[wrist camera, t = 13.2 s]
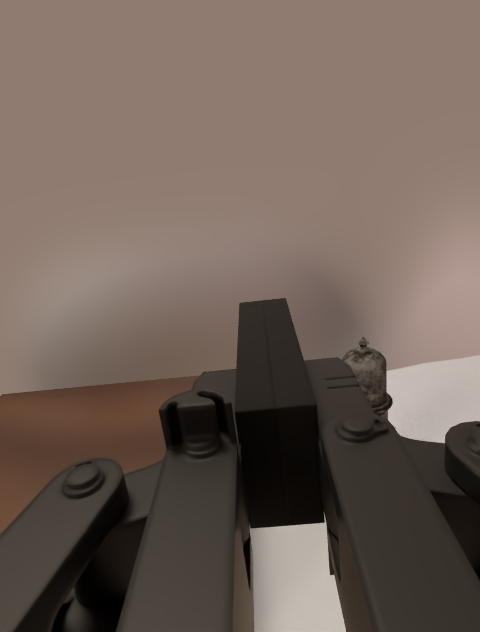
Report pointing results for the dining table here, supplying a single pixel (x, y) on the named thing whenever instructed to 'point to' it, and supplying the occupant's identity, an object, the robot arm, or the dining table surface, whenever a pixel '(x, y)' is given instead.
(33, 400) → the lid
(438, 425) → the dining table surface
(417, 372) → the dining table surface
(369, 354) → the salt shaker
